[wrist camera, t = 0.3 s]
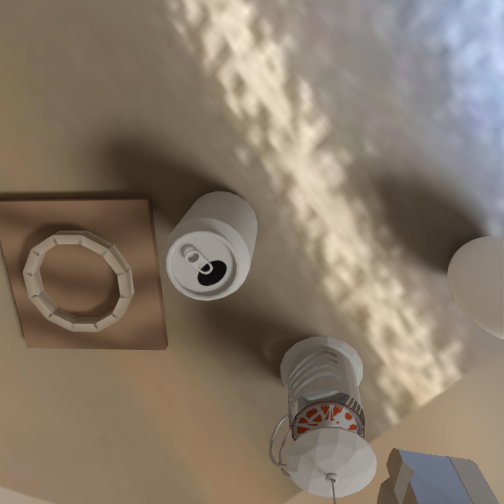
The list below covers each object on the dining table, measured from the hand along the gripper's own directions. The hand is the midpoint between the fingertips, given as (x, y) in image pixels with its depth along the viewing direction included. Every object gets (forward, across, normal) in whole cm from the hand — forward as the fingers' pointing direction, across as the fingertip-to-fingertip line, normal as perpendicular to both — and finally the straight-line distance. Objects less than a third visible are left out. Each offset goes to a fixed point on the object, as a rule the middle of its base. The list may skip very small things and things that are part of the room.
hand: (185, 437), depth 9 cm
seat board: (+39, +19, +13) cm, 45 cm away
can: (+39, +4, +4) cm, 39 cm away
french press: (+40, -9, +21) cm, 46 cm away
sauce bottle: (+39, -22, +3) cm, 45 cm away
